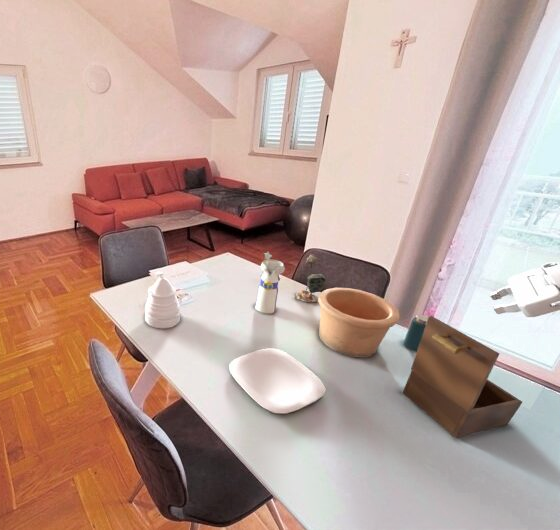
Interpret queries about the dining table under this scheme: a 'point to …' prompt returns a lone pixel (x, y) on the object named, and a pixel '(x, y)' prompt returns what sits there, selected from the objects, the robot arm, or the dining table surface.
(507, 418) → the chest
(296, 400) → the plate
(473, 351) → the chest lid
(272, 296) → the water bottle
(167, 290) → the honey pot
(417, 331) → the spray can
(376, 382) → the dining table surface
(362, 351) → the pottery
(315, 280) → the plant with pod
